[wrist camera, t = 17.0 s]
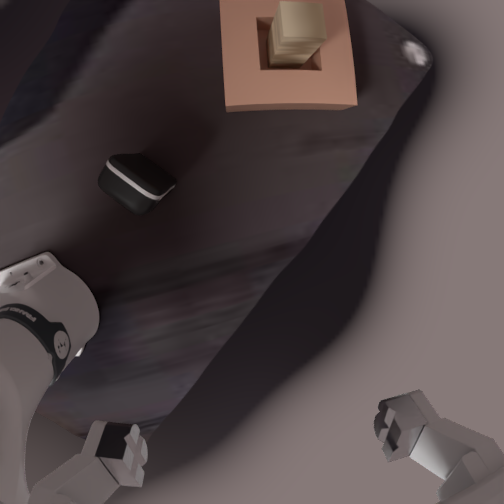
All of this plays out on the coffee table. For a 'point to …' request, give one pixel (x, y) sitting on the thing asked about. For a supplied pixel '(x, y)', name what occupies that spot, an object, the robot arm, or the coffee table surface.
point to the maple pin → (295, 34)
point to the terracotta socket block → (284, 79)
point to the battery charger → (135, 182)
